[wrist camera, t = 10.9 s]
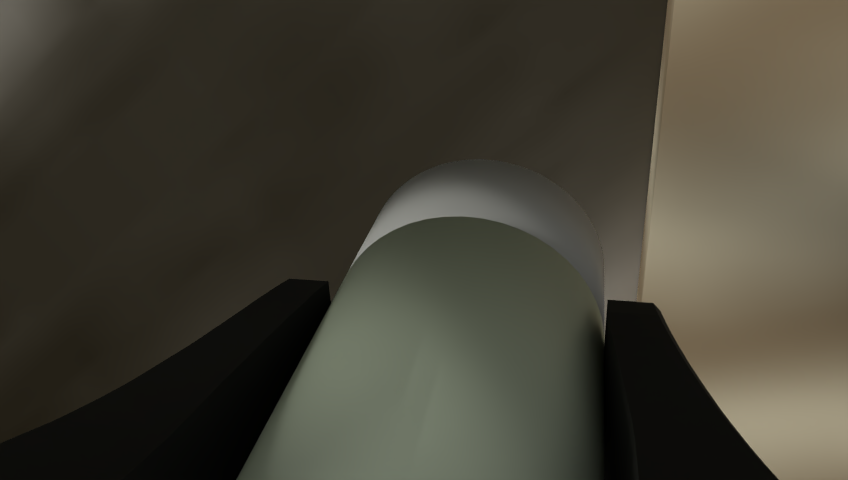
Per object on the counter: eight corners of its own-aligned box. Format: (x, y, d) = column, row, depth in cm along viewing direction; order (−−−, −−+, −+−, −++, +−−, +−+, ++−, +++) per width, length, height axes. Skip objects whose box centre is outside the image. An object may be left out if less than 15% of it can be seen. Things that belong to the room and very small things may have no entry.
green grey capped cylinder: (597, 372, 14) (591, 794, 8) (378, 354, 15) (226, 729, 9) (612, 163, 12) (619, 514, 6) (360, 155, 13) (153, 461, 7)
